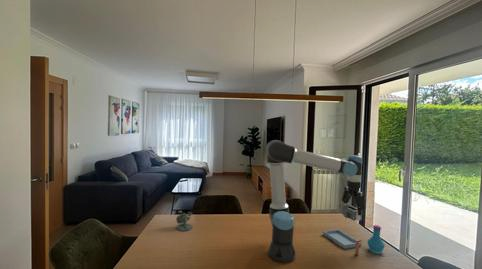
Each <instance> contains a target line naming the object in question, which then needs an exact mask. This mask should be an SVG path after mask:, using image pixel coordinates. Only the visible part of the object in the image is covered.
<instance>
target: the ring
mask: <svg viewBox="0 0 482 269" xmlns="http://www.w3.org/2000/svg"><path fill="white" fill-rule="evenodd" d="M356 209H357V207H355V206H353V205H351V204H350V205H348V206H344V205H342V211H341V215H342V216H343V217H344V218H346V219H350V220H351V221H353V222H354V221H357V220H356ZM362 220H363V212H362V213H361V219H360V220H359V221H362Z"/></svg>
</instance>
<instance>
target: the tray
mask: <svg viewBox="0 0 482 269" xmlns="http://www.w3.org/2000/svg"><path fill="white" fill-rule="evenodd" d="M322 236H324V237H325V238H327V239H329V240H330V241H332V242H333V243H334V244H336V245H338V246H339V247H341V248H342V249H344V250H347V249H354V248H356V242H355V240H357V239H355V237H352V236H350V235H349V234H347V233H345V232H343V231H342V230H340V229H338V228H337V229H329V230H328V229H327V230H323V231H322ZM361 246H362V242H359V248H360V247H361Z"/></svg>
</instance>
